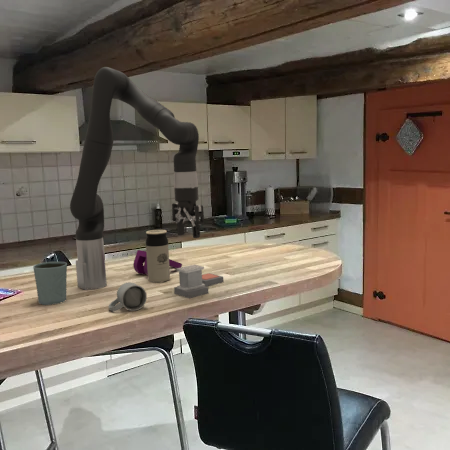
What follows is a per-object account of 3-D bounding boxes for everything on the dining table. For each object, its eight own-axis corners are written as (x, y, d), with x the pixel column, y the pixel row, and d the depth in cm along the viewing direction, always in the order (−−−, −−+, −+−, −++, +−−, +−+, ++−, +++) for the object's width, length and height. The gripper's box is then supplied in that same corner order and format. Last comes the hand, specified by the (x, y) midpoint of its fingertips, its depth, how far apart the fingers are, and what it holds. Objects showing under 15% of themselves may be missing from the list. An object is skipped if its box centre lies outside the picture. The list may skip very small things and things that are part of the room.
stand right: (205, 286, 171) (205, 280, 171) (191, 282, 178) (191, 276, 177) (223, 282, 176) (223, 276, 176) (209, 278, 182) (209, 272, 182)
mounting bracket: (166, 282, 203) (130, 270, 191) (172, 262, 205) (137, 249, 193) (180, 286, 196) (144, 274, 184) (187, 265, 198) (151, 252, 186)
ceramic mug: (139, 301, 157) (137, 277, 156) (148, 308, 150) (146, 283, 149) (105, 308, 152) (103, 283, 151) (113, 315, 145) (110, 290, 144)
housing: (186, 291, 160) (185, 270, 159) (177, 288, 163) (176, 268, 162) (204, 286, 164) (204, 266, 163) (195, 283, 168) (194, 264, 167)
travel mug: (146, 278, 185) (143, 230, 183) (167, 276, 188) (164, 228, 185) (150, 283, 178) (147, 233, 175) (172, 281, 181) (169, 231, 178)
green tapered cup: (31, 301, 162) (27, 265, 160) (60, 294, 169) (57, 259, 167) (45, 307, 155) (41, 269, 153) (75, 300, 162) (72, 263, 160)
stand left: (188, 298, 159) (188, 292, 158) (174, 293, 165) (174, 287, 164) (208, 293, 164) (208, 287, 163) (194, 288, 170) (193, 282, 169)
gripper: (163, 186, 162) (166, 235, 165) (189, 187, 151) (192, 240, 154) (182, 184, 167) (185, 232, 169) (209, 185, 156) (211, 237, 158)
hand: (188, 236), depth 161 cm, fingers open, 8 cm apart
